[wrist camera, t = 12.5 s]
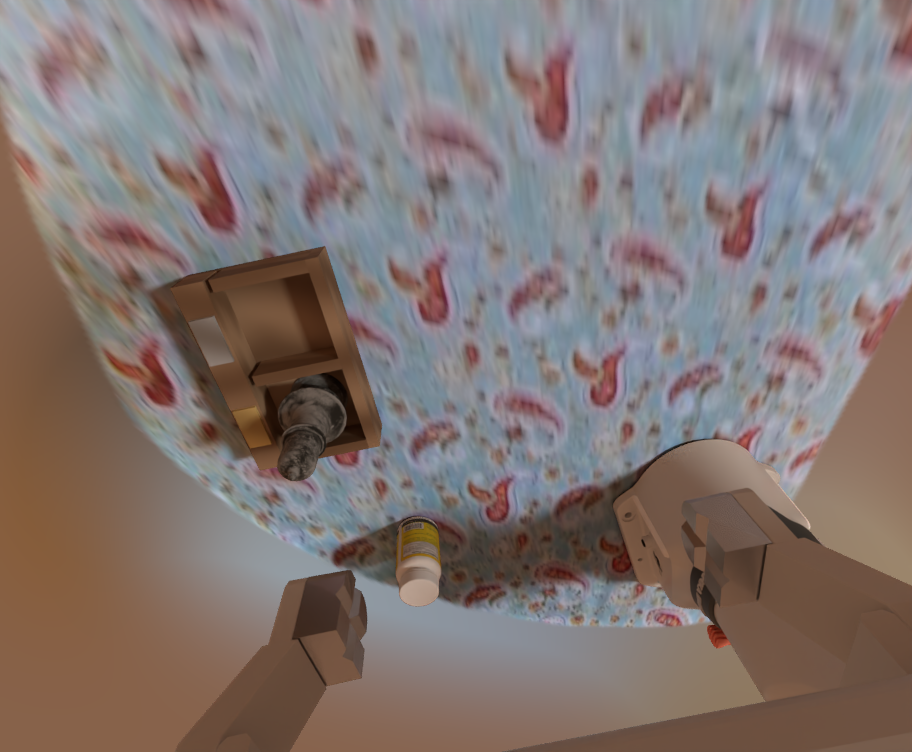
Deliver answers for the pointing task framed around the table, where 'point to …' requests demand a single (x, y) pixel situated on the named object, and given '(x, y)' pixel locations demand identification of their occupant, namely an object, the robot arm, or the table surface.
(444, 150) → the table surface
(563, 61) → the table surface
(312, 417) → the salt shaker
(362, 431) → the divided sorting tray
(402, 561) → the supplement bottle
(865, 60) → the table surface
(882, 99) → the table surface
